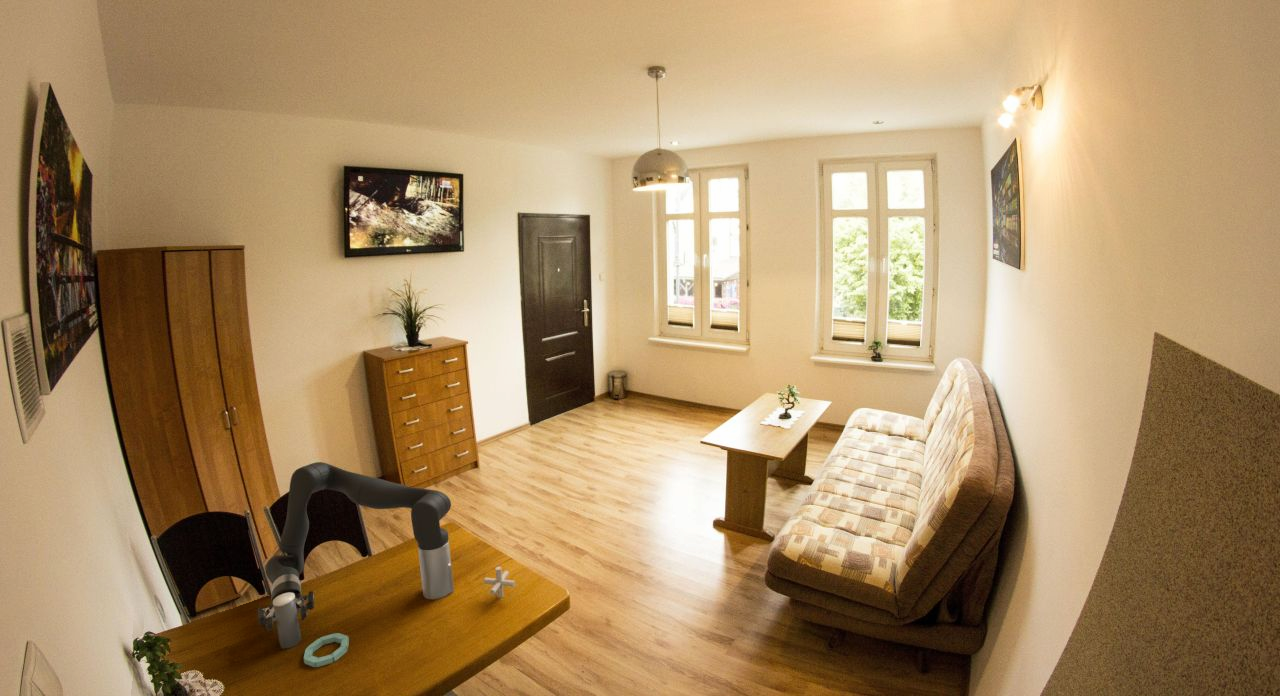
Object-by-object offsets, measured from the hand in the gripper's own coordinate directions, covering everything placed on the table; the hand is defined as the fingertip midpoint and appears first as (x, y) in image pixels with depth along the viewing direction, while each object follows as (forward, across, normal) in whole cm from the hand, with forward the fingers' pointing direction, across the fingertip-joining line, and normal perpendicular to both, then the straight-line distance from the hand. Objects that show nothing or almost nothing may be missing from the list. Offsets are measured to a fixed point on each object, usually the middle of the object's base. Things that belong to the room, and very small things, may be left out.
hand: (287, 622), depth 146 cm
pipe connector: (+14, +56, +8) cm, 58 cm away
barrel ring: (+8, +8, +8) cm, 14 cm away
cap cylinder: (-2, 0, +8) cm, 8 cm away
